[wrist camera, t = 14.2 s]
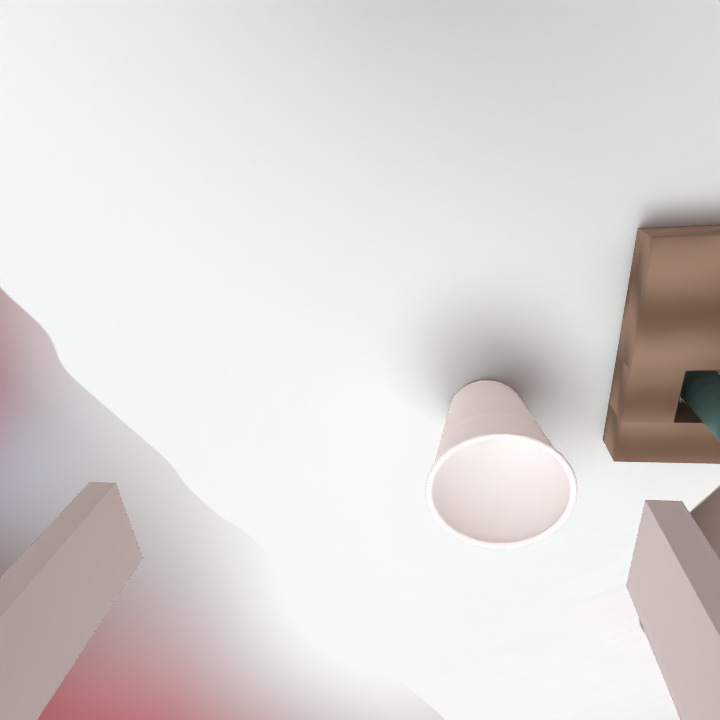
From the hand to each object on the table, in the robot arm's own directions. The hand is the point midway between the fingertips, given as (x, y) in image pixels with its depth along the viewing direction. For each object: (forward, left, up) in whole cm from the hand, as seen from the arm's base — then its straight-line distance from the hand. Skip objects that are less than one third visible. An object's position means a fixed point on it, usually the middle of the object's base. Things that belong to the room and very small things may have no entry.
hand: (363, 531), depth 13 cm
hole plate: (+8, +22, -29) cm, 37 cm away
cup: (+14, +6, -29) cm, 33 cm away
